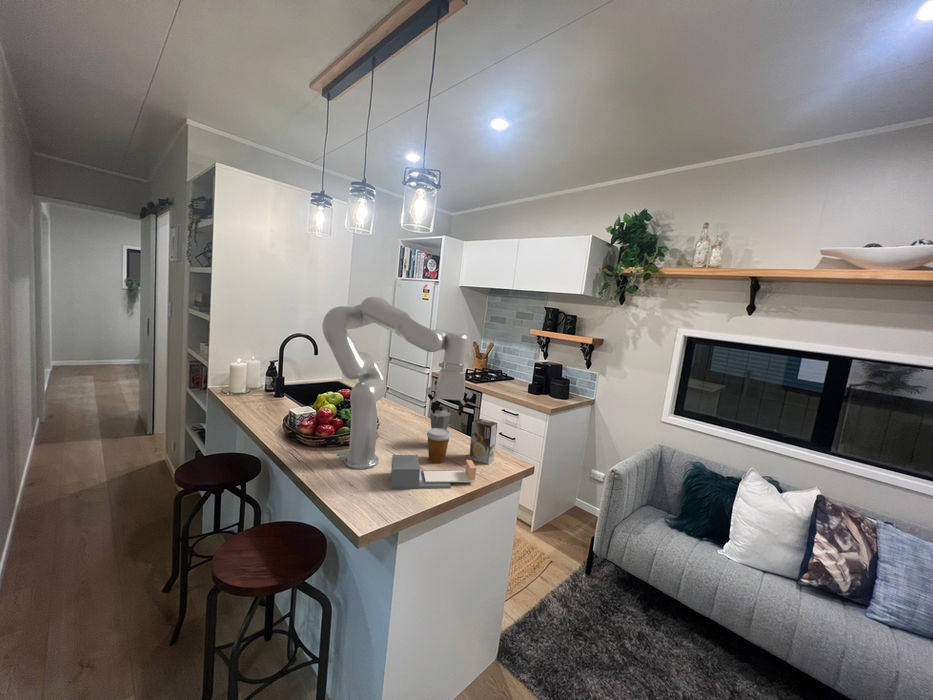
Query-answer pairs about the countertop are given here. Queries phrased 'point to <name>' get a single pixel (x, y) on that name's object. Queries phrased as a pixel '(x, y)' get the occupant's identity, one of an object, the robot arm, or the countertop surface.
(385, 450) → the countertop surface
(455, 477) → the sliding tray
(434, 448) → the disposable coffee cup
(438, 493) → the countertop surface
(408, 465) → the dispenser
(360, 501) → the countertop surface
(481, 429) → the coffee box
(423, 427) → the countertop surface
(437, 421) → the coffeepot
